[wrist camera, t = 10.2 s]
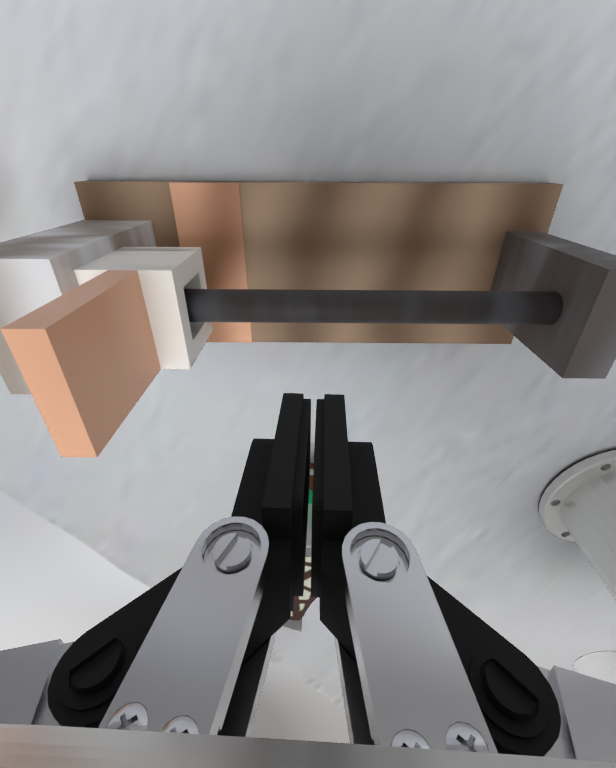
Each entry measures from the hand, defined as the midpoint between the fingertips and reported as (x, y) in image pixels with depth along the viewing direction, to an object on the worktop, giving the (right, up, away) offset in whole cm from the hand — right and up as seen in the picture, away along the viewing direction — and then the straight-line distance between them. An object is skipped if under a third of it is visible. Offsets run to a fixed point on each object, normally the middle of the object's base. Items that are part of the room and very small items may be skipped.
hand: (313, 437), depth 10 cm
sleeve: (-8, +7, +10) cm, 14 cm away
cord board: (0, +10, +14) cm, 17 cm away
